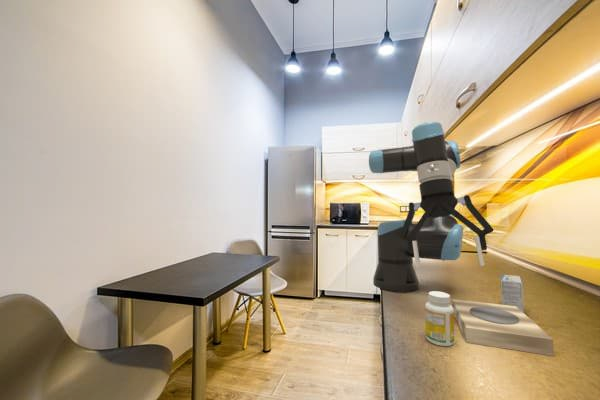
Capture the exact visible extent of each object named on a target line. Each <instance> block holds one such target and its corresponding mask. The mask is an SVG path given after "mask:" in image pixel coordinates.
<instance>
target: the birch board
mask: <svg viewBox="0 0 600 400" xmlns="http://www.w3.org/2000/svg"><path fill="white" fill-rule="evenodd" d="M451 306H452V307H453V309H454V319H455V320H456V322H457V324H458V326H459V328H460V331H461V333H462V336H463V338H464V340H465V342H466V343H469V344H475V345H480V346H481V345H482V346H488V347H495V348H501V349H506V350H515V351H521V352H528V353H533V354H540V355H547V356H553V357H554V356H555V355H554V353H555V352H554V350H555V349H554V339H553V338H552V336H550V335H549V334H548V333H546V332H545V331H544V330H543V329H542V328H541V327H540V326H539V325H537V324H536V323H535V321H533V320H532V319H531V318H530V317H528V316H527V315H526V313H525V312H524V313H523V312H522V311H521V310H520V309H519V308H517V307H516V306H509V305H502V304H499V303H498V304H497V303H488V302H480V301H469V300H460V299H451Z"/></svg>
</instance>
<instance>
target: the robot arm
mask: <svg viewBox="0 0 600 400" xmlns="http://www.w3.org/2000/svg"><path fill="white" fill-rule="evenodd" d="M411 136H412V138H411V142H412V144H413V145H410V146H409V145H408V146H402V147H393V148H385V149H381V148H380V149H376V150H372V151H370V153H369V156H368V165H369V167H368V168H369V169H370V170H369V171H370V172H371V173H373V174H387V173H397V172H417V178H418V182H419V183H420V184H419V191H420V200H421V201H420V202H413V201H412V202H409V204H408V213H407V216H406V218H405V219H401V220H398V219H397V220H391V221H383V222H380V223H379V224H378V225H377V226H378V227H377V235H376V236H377V266H376V269H375V272H374V275H373V279H372V280H373V283H372V284H373V286H375V287H377V289H381V290H385V291H389V292H397V293H398V292H399V293H404V292H405V293H407V292H415V291H417V290H419V288H420V287H419V285H420V284H419V278H418V277H417V273H416V270H415V268H420V267H421V263H420V262H421V261H420V259H428V260H438V261H439V260H440V261H457V260H458V259H459V258H460V257H461V253H462V247H463V236H464V226H466V227H467V228H469V229H470V230H471V231H472V232H473V233H475V234H476V235H477V236H474V242H475V247H476V252H477V253H476V254H477V259H478V264H479V266H481V267H482V266H485V261H484V260H485V259H484V256H483V251H487V249H488V246H487V241H486V236H487V235H488V234H490V233H492V232H494V228H493V227H492V226H491V224H490V223H489V222H488V220H487V219H486V218H485V217H484V216H483V215H482V214H481V213H480V211H479V210H478V209H477V208H476V207H475V206H474V204H473V203H472V200H471V196H470V195H468V194H465V195H464V196H460V197H456V196H455V193H454V192H455V191H454V186H453V175H454V174H455V172H456V171H457V170H458V169H460V168H461V155H460V148H459V145H458V143H457V142H456V141H455V140H449V141H448V140H446V139H445V132H444V129H443V126H442V124H441V122H439V121H427V122H423V123H420V124H418V125H416V126H414V128H413V129H412V131H411ZM459 203H460V205H462V206H466V209H467V210H468V211H469V212H470V213H471V215H472V216H473V217H474V218H475V220H476V221H477V222H478V223H479V224H480V225H481V227H482V228H483V229H481V228H479V227H478V226H477V225H476V224H474V222H472V221H471V220H469V219H468V218H467V217H465V216H464V215H463V214H461V213H460V212H459V211H458V210H456V209H455V208H456V207H457V205H458V204H459ZM420 208H421V209H422V211H424V212H423V214H422V216H421V218H420V219H419V220H418V222H417V223H413V220H414V217H415V213H416V212H418V210H419V209H420ZM458 221H459V222H460V223H462V224H463V225H464V226H463V225H462V224H459V222H458ZM413 261H414V262H413ZM413 263H415V268H414V264H413Z"/></svg>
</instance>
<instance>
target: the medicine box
mask: <svg viewBox="0 0 600 400" xmlns="http://www.w3.org/2000/svg"><path fill="white" fill-rule="evenodd" d="M500 279H501V280H500V289H501V290H500V291H501V293H500V295H501V305H509V306H516V307H517V308H519V309H520V310H521V311H522V312H523V313H524V314H525V311H524V294H523V293H524V289H523V280H522V278H521V276H520V275H511V274H501V277H500Z"/></svg>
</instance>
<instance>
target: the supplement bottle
mask: <svg viewBox="0 0 600 400" xmlns="http://www.w3.org/2000/svg"><path fill="white" fill-rule="evenodd" d="M428 300H429V301H426V303H425V305H424V306H425V308H424V309H425V311H424V312H425V313H424V315H425V317H424V318H425V338H426V340H427V341H428V342H430V343H431V344H434V345H437V346H439V347H450V346H452V345H454V343H455V316H454V309H453V307H452V304H450V302H451V295H450V294H449V293H446V292H443V291H437V290H434V291H433V290H431V291H429V292H428Z"/></svg>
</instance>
